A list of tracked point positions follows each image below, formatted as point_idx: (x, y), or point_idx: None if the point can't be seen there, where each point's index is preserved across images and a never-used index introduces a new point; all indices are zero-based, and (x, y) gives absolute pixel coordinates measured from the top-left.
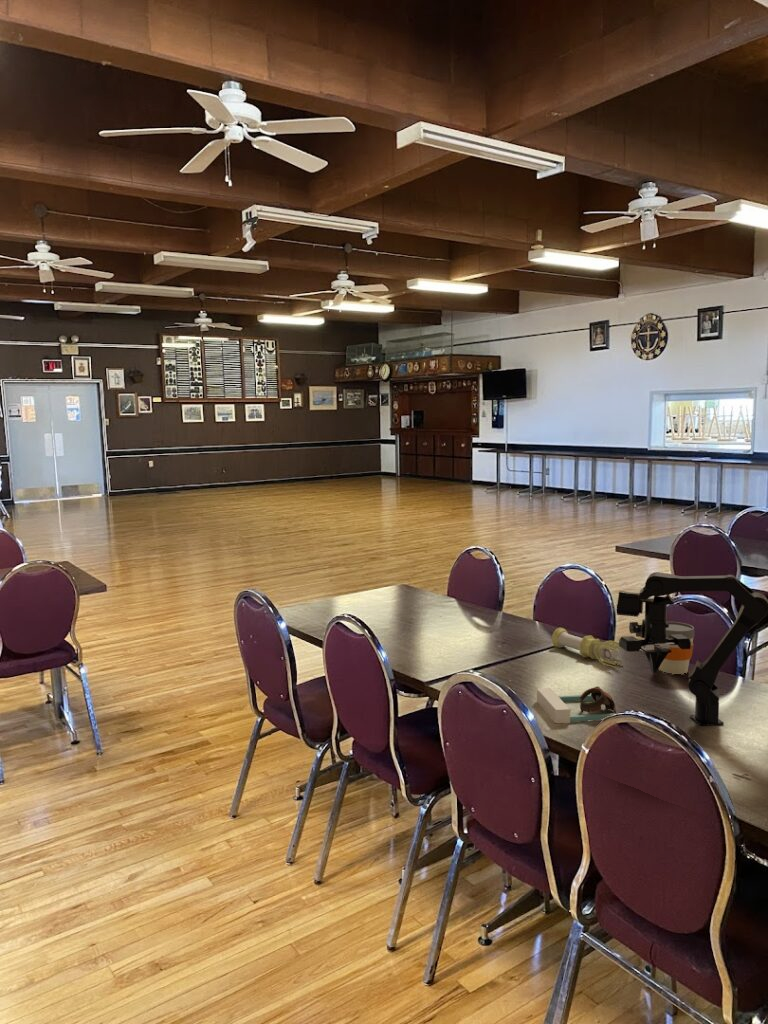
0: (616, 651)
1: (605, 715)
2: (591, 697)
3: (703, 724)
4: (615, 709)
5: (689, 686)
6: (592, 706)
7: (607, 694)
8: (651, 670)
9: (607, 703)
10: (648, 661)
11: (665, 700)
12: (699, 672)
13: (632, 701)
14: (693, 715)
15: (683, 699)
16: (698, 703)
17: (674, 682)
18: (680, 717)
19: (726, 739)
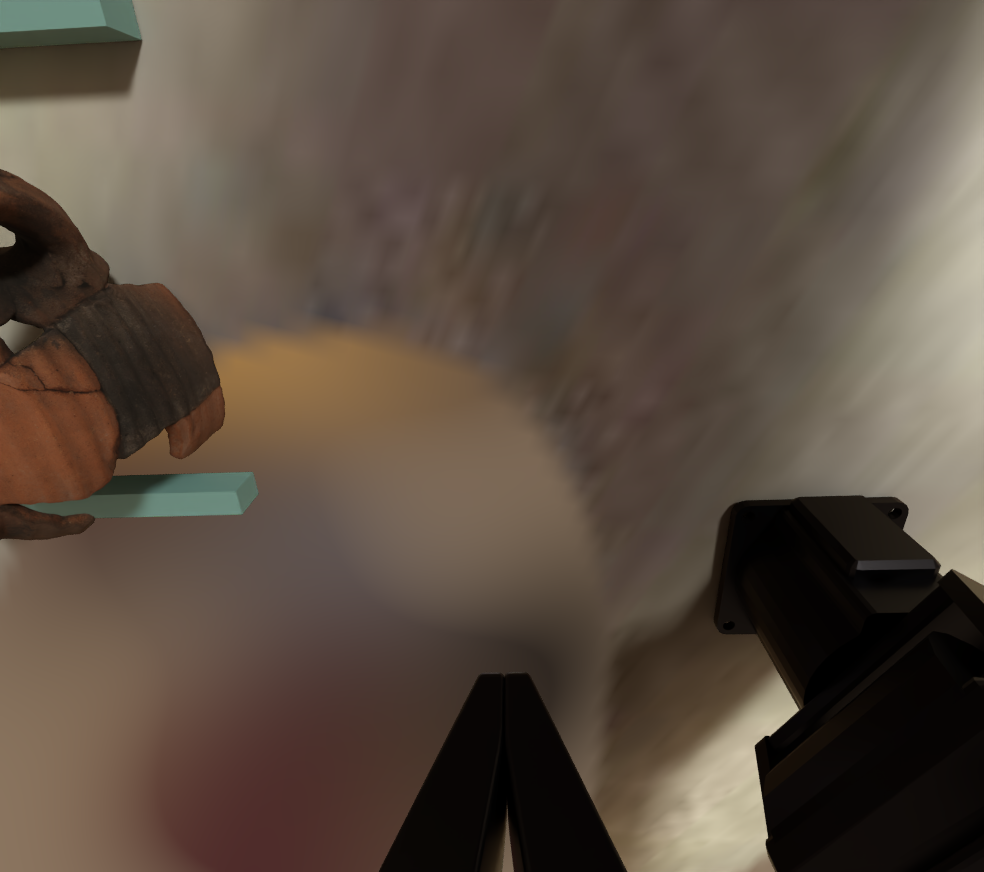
0: None
1: (108, 516)
2: (2, 36)
3: (727, 632)
4: (188, 447)
5: (769, 848)
6: None
7: (28, 476)
8: (472, 687)
9: (65, 533)
10: (393, 845)
11: (781, 115)
12: None
13: (442, 112)
14: (761, 516)
15: (979, 103)
16: (790, 678)
17: None
18: (668, 494)
19: (727, 753)
